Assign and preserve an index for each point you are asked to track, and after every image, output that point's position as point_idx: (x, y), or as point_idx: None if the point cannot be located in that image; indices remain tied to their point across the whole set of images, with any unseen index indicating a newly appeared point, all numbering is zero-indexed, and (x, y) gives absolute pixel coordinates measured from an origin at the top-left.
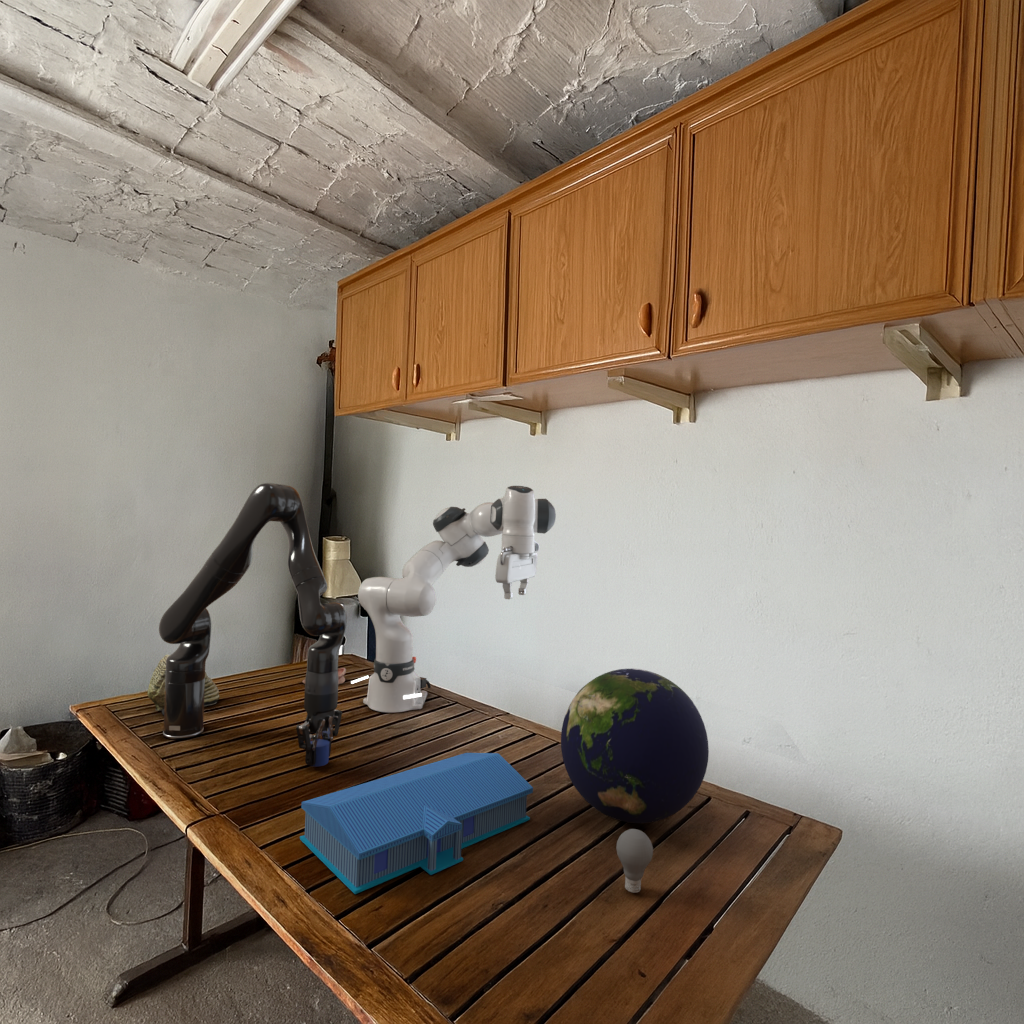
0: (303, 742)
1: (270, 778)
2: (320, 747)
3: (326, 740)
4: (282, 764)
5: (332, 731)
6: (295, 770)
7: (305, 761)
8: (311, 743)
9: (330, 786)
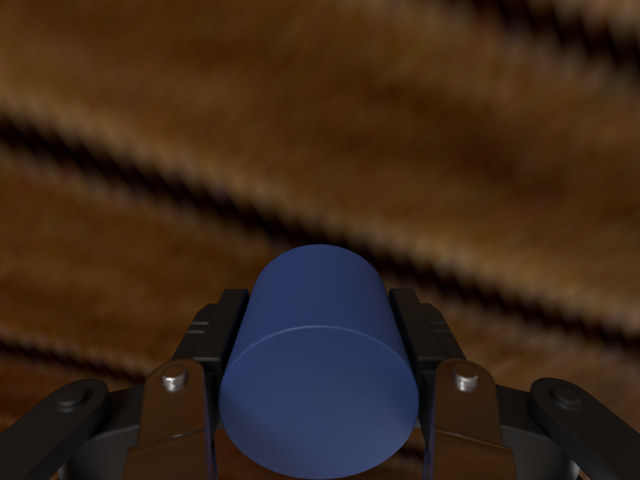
0: (76, 443)
1: (14, 155)
2: (255, 457)
3: (406, 426)
4: (219, 58)
5: (537, 477)
6: (199, 214)
7: (200, 310)
8: (269, 367)
9: None
